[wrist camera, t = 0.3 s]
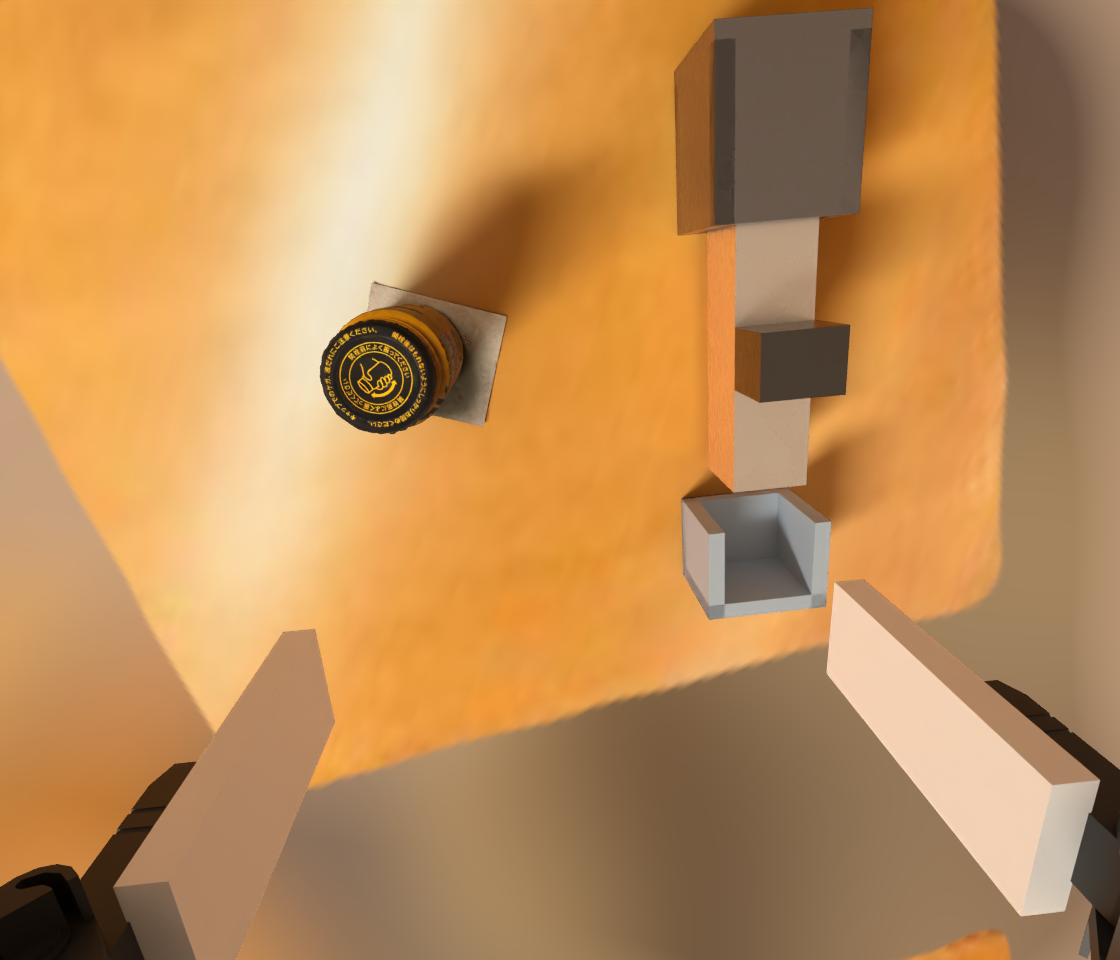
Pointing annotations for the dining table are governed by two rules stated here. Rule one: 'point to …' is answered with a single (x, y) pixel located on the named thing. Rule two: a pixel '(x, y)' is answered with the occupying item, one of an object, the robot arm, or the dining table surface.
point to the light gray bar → (766, 352)
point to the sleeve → (772, 119)
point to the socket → (755, 553)
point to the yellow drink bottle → (412, 362)
